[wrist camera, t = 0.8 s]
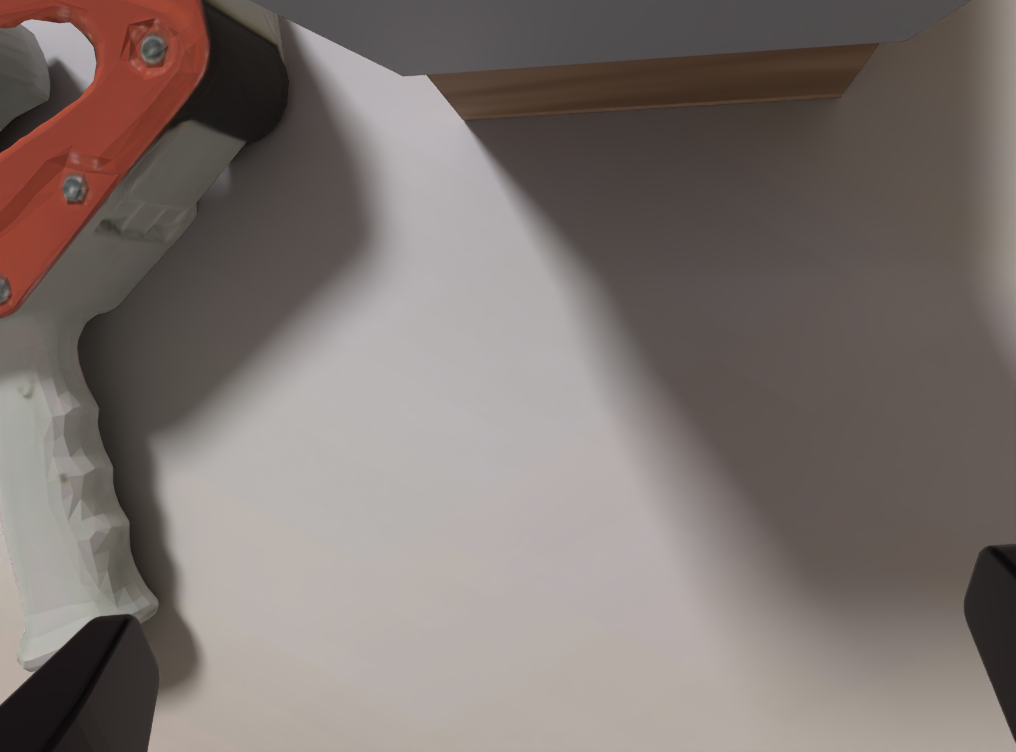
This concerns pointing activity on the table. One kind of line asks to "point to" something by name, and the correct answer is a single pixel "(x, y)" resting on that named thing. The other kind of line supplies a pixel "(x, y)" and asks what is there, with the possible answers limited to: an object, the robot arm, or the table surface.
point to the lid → (595, 28)
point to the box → (655, 82)
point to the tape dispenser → (102, 261)
